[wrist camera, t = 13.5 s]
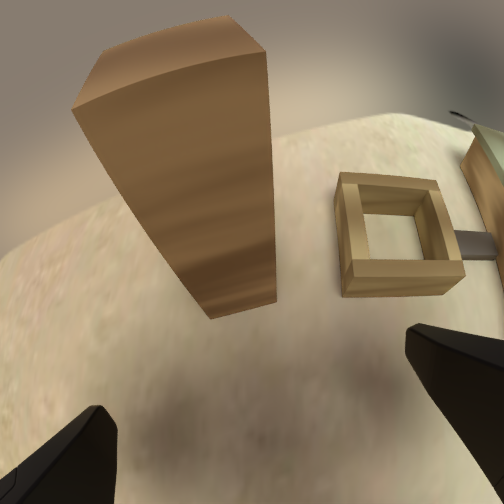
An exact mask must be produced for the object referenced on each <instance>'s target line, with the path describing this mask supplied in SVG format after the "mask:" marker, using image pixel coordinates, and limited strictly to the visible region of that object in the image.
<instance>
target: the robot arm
mask: <svg viewBox="0 0 504 504" xmlns="http://www.w3.org/2000/svg"><path fill="white" fill-rule="evenodd" d="M405 354H406V357H407V359H408V361H409V362H410V364H411V366H412V367H413V369H414V371H415V372H416V374H417V376H418V377H419V379H420V381H421V383H422V384H423V386H424V388H425V389H426V391H427V393H428V394H429V396H430V397H431V399H432V400H433V401H434V403H435V404H436V405H437V407H438V408H439V409H440V411H441V412H442V413H443V415H444V416H445V418H446V419H447V420H448V422H449V423H450V424H451V426H452V427H453V429H454V430H455V431H456V433H457V434H458V436H459V437H460V438H461V440H462V441H463V443H464V444H465V446H466V447H467V449H468V450H469V451H470V453H471V454H472V456H473V457H474V459H475V460H476V462H477V463H478V465H479V466H480V468H481V469H482V471H483V472H484V474H485V475H486V477H487V478H488V480H489V482H490V483H491V485H492V486H493V487H494V490H495V491H496V493H497V495H498V496H499V498H500V499H501V501H502V503H503V504H504V340H499V339H494V338H489V337H484V336H478V335H473V334H468V333H463V332H458V331H454V330H449V329H444V328H439V327H435V326H430V325H425V324H421V323H418V324H415V325H413V326H411V327H409V328H408V329H407V330H406V340H405ZM117 433H118V430H117V425H116V423H115V422H114V420H113V419H112V418H111V416H110V415H109V413H108V412H107V411H106V409H105V408H104V407H103V406H101V405H92V406H89V407H88V408H87V409H86V410H84V411H83V412H82V413H81V414H80V415H78V416H77V417H76V418H75V419H74V420H72V421H71V422H70V423H69V424H68V425H66V426H65V427H64V428H63V429H62V430H60V431H59V432H58V433H57V434H56V435H54V436H53V437H52V438H51V439H50V440H48V441H47V442H46V443H45V444H44V445H42V446H41V447H40V448H39V449H38V450H36V451H35V452H34V453H33V454H32V455H30V456H29V457H28V458H27V459H25V460H24V461H23V462H22V463H21V464H19V465H18V467H16V468H14V469H13V470H12V471H11V472H10V473H8V474H7V475H6V476H4V477H3V478H2V479H0V504H114V497H115V485H116V474H117Z"/></svg>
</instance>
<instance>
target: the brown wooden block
mask: <svg viewBox="0 0 504 504" xmlns="http://www.w3.org/2000/svg"><path fill="white" fill-rule="evenodd" d="M71 110H72V112H73V114H74V116H75V118H76V120H77V122H78V123H79V125H80V127H81V128H82V130H83V132H84V134H85V136H86V138H87V139H88V141H89V143H90V145H91V146H92V148H93V150H94V152H95V153H96V155H97V157H98V158H99V160H100V162H101V163H102V165H103V166H104V168H105V170H106V171H107V173H108V175H109V176H110V178H111V179H112V181H113V183H114V184H115V186H116V188H117V189H118V191H119V192H120V194H121V195H122V197H123V199H124V200H125V202H126V203H127V205H128V206H129V208H130V209H131V211H132V212H133V214H134V215H135V217H136V218H137V220H138V221H139V223H140V224H141V226H142V227H143V229H144V230H145V232H146V233H147V235H148V236H149V237H150V239H151V240H152V242H153V243H154V245H155V246H156V247H157V249H158V250H159V252H160V253H161V254H162V256H163V257H164V259H165V260H166V261H167V263H168V264H169V266H170V267H171V268H172V270H173V271H174V272H175V274H176V275H177V277H178V278H179V279H180V281H181V282H182V283H183V285H184V286H185V287H186V289H187V290H188V291H189V293H190V294H191V295H192V296H193V298H194V299H195V300H196V302H197V303H198V304H199V306H200V307H201V308H202V309H203V311H204V312H205V313H206V314H207V316H208V317H209V318H210V319H214V318H218V317H222V316H226V315H230V314H234V313H238V312H241V311H245V310H249V309H253V308H256V307H260V306H264V305H268V304H271V303H275V302H277V292H276V248H275V215H274V188H273V164H272V143H271V124H270V106H269V90H268V73H267V60H266V51H265V50H264V49H263V48H262V47H261V46H260V45H259V44H258V43H257V42H256V41H255V40H254V39H253V38H252V37H251V36H250V35H249V34H248V33H247V32H246V31H245V30H244V29H243V28H242V27H241V26H240V25H239V24H237V23H236V22H235V21H234V20H233V19H232V18H231V17H230V16H229V15H227V16H221V17H216V18H210V19H205V20H200V21H196V22H192V23H187V24H183V25H179V26H175V27H172V28H168V29H164V30H161V31H157V32H154V33H151V34H148V35H145V36H142V37H139V38H136V39H133V40H130V41H128V42H125V43H122V44H120V45H117V46H114V47H112V48H109V49H107V50H105V51H103V53H102V54H101V55H100V57H99V59H98V60H97V62H96V64H95V65H94V67H93V69H92V70H91V72H90V74H89V76H88V78H87V79H86V81H85V83H84V85H83V87H82V89H81V91H80V93H79V95H78V97H77V99H76V101H75V103H74V105H73V107H72V109H71Z"/></svg>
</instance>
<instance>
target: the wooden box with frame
mask: <svg viewBox="0 0 504 504" xmlns="http://www.w3.org/2000/svg"><path fill="white" fill-rule="evenodd" d="M471 131H472V132H473V134H474V135H475V138H474V140H473V142H472V144H471V146H470V148H469V150H468V152H467V154H466V156H465V158H464V159H463V161H462V163H461V165H460V167H461V169H462V171H463V174H464V176H465V178H466V180H467V182H468V184H469V187H470V189H471V191H472V193H473V196H474V198H475V201H476V203H477V206H478V208H479V211H480V213H481V216H482V218H483V221H484V224H485V227H486V230H487V232H475V231H460V230H453V226H452V223H451V220H450V217H449V214H448V211H447V208H446V205H445V203H444V200H443V197H442V195H441V192H440V189H439V187H438V184H437V182H436V180H429V179H420V178H411V177H402V176H391V175H380V174H367V173H351V172H340V173H339V178H338V183H337V188H336V192H335V197H334V208H335V217H336V226H337V235H338V246H339V257H340V269H341V284H342V297H403V296H430V295H444V294H445V293H446V292H447V291H448V290H450V289H451V288H452V287H453V286H455V285H456V284H457V283H458V282H459V281H460V280H462V279H463V278H464V277H465V276H466V274H465V270H464V266H463V262H462V260H494V259H495V258H496V261H497V265H498V269H499V273H500V277H501V281H502V285H503V289H504V133H502V132H499V131H496V130H493V129H490V128H487V127H484V126H481V125H477V124H474V126H473V128H472V130H471ZM363 213H367V214H387V215H405V216H414V218H415V222H416V226H417V230H418V234H419V238H420V242H421V246H422V250H423V255H424V260H377V259H370V254H369V247H368V240H367V234H366V228H365V222H364V216H363Z"/></svg>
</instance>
